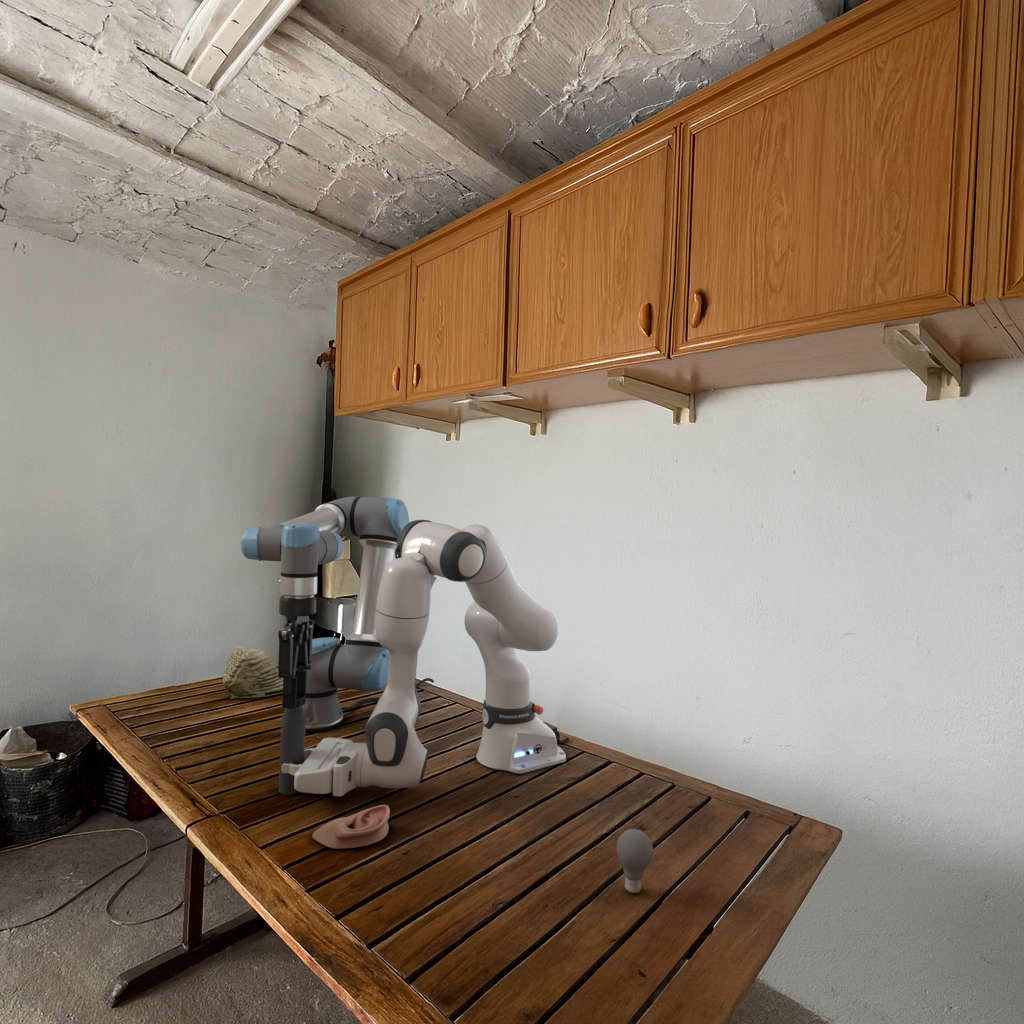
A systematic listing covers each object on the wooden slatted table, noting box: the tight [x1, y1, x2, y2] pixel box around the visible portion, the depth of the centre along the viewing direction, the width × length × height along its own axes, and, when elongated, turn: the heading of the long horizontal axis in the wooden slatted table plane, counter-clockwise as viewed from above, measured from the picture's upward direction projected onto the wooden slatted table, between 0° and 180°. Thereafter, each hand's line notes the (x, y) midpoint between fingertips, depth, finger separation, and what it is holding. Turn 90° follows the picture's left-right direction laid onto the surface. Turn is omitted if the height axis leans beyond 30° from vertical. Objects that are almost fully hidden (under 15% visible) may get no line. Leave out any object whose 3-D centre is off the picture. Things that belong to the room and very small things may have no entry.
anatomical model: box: [311, 804, 391, 850], centre depth 119 cm, size 13×4×12 cm
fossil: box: [222, 646, 283, 699], centre depth 198 cm, size 9×18×15 cm, turn 132°
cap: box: [296, 693, 306, 707], centre depth 136 cm, size 5×5×2 cm
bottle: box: [278, 706, 306, 796], centre depth 136 cm, size 5×5×20 cm
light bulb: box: [615, 828, 654, 894], centre depth 106 cm, size 6×6×10 cm
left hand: (294, 703), depth 136 cm, fingers closed on cap, 4 cm apart
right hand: (287, 761), depth 136 cm, fingers closed on bottle, 5 cm apart
